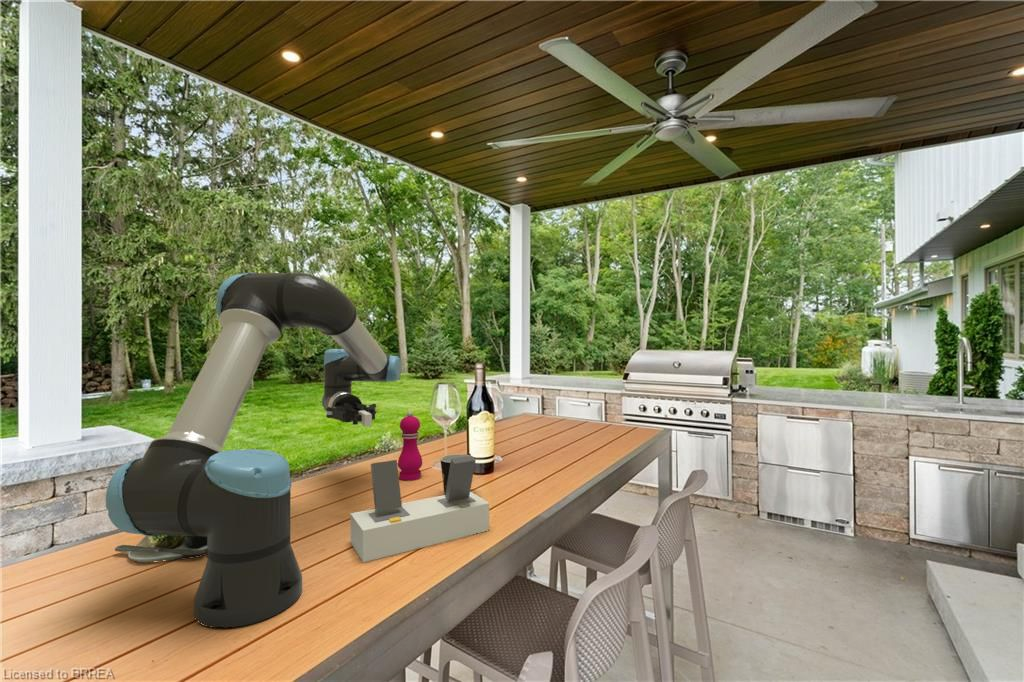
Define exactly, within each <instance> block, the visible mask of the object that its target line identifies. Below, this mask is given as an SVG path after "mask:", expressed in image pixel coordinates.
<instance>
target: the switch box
mask: <svg viewBox="0 0 1024 682" xmlns="http://www.w3.org/2000/svg"><path fill="white" fill-rule="evenodd" d="M401 503H402V507H400V508H395V509H390V510H385V511H380V512H375V508H372V509H366V510H361V511H356V512H351V513H350V544H351V546H352V547H353V548H354V550H355V552H356V553H357V555H358V557H359V558H360V560H361V562H362V563H366V562H367V563H368V562H371V561H375V560H378V559H382V558H386V557H391V556H394V555H398V554H403V553H406V552H409V551H414V550H418V549H419V550H420V549H421V548H422V549H423V548H425V547H426V548H427V547H430V546H434V545H437V544H438V545H439V544H443V543H447V542H450V541H453V540H457V539H462V538H466V537H469V535H470V536H473V534H474V535H476V533H478V534H481V532H482V533H486V532H489V531H490V502H488V501H487V500H485V499H483V498H482V497H480V496H478V495H477V494H476V493H474V492H472V491H471V490H470V495H469V498H465V499H460V500H455V501H450V502H448V501H447V499H446V498H445V495H438V496H432V497H427V498H422V499H417V500H412V501H407V502H401ZM488 530H489V531H488ZM485 531H486V532H485Z"/></svg>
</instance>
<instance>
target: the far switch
mask: <svg viewBox="0 0 1024 682" xmlns="http://www.w3.org/2000/svg"><path fill="white" fill-rule="evenodd" d="M475 467H476V459H475V458H474V456H473V455H469V456H467V457H461V458H454V459H451V463H450V469H449V475H448V481H447V487H446V494H445V498H446V499H447V501H448V502H450V501H455V500H460V499H465V498H469V495H470V491H471V488H472V483H473V477H474V472H475Z"/></svg>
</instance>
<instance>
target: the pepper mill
mask: <svg viewBox="0 0 1024 682" xmlns="http://www.w3.org/2000/svg"><path fill="white" fill-rule="evenodd" d="M413 415H414V412H413V411H411V410H409V411H407V413H406V416H404V417H403V418H402V419H401V420H400V422H399V429H400V430H401V438H402V441H403V442H402V449H401V451H400V454H399V456H398V460H397V467H398V469H399V470H400V472H399V480H401V481H405V480H407V481H408V480H411V481H416V480H415V479H417V480H419V479H421V477H422V471H421V470H420V468H422V467H423V458H422V455H421V453H420V451H419V446H418V438H419V430H420V428H421V421H420V419H419V418H418V417H417V416H413ZM418 478H419V479H418Z"/></svg>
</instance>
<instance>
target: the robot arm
mask: <svg viewBox="0 0 1024 682" xmlns="http://www.w3.org/2000/svg"><path fill="white" fill-rule="evenodd" d="M215 300H216V301H217V303H216V304H215V311H216V314H217V317H218V320H219V325H220V326H221V328H222V330H221V331H220V333H219V336H218V337H217V338H216V341H215V342H214V345H213V347H212V348H211V350H210V353H209V354H208V356H207V358H206V360H205V362H204V364H203V365H202V368H201V369H200V371H199V373H198V375H197V377H196V379H195V381H194V383H193V385H192V386H191V389H190V390H189V392H188V394H187V396H186V398H185V400H184V401H183V404H182V405H181V407H180V409H179V412H178V413H177V415H176V417H175V419H174V420H173V422H172V424H171V427H170V428H169V430H168V432H167V434H165V435H162V436H160V437H157V438H153V440H152V441H151V442H150V444H149V445H148V448H147V449H146V451H145V452H144V454H143V457H138V458H134V459H131V460H128V462H126V463H123V464H122V465H120V466H119V467H118V468H117V469H116V470H115V472H113V474H112V476H111V478H110V479H109V481H108V482H109V483H108V485H107V489H106V491H105V508H106V510H107V516H108V518H109V520H110V522H111V523H112V525H113V526H115V527H116V528H117V529H119V530H120V531H121V532H124V533H127V534H135V535H143V536H144V537H145V536H155V535H180V536H205V537H207V554H206V556H207V557H206V558H207V560H206V563H205V566H204V570H203V572H202V576H201V578H200V581H199V584H198V586H197V590H196V592H195V595H194V599H193V617H194V616H195V618H196V620H197V621H199V622H200V623H202V624H204V625H207V626H212V627H232V628H239V627H244V626H248V625H252V624H255V623H259V622H262V621H265V620H267V619H270V618H272V617H273V616H276V615H278V614H280V613H282V612H284V611H285V610H287V609H288V608H290V606H292V605H294V603H295V602H296V601H297V600H299V597H301V595H302V592H303V573H302V571H301V567H300V565H299V563H298V560H297V557H296V555H295V553H294V550H293V547H292V545H291V489H292V479H291V472H290V464H289V462H288V461H287V459H286V458H285V457H284V456H283V455H282V454H279V453H277V452H275V451H271V450H265V449H257V448H256V449H255V448H246V449H230V450H223V446H224V445H225V442H226V440H227V437H228V435H229V432H230V431H231V428H232V426H233V424H234V421H235V419H236V417H237V415H238V413H239V410H240V408H241V405H242V404H243V402H244V399H245V396H246V395H247V393H248V389H249V388H250V386H251V383H252V381H253V378H254V376H255V374H256V372H257V370H258V367H259V364H260V363H261V360H262V358H263V355H264V353H265V351H266V348H267V347H268V345H272V344H274V343H276V342H278V341H279V339H280V337H281V334H282V333H283V329H285V328H300V327H303V328H312V329H316V330H318V331H319V332H320V333H321V334H324V336H327V337H329V336H330V337H331V338H332V339H333V340H334V341H335V342H336V343H337V344H338V346H340V348H335V349H334V348H333V349H326V350H325V351H324V356H323V357H324V358H323V384H324V387H323V395H322V398H321V405H322V407H323V409H324V410H325V413H326V419H333V420H337V421H340V422H343V423H352V425H358V424H359V423H360V424H361V425H362V426H364V427H372V426H373V420H376V414H377V404H376V403H372V404H368V406H367V405H366V404H364V403H363V402H362V400H361V399H360V398H359V397H358V396H356V395H355V394H353V393H352V386H353V384H352V382H370V383H371V382H374V383H375V382H376V383H377V382H379V383H382V382H383V383H387V382H397V381H398V380H400V378H401V374H402V362H401V359H400V357H399V356H398V355H391V354H389V355H387V354H386V353H385V352H384V350H383V349H382V348H381V346H380V345H379V344H378V343H377V341H376V340H375V338H374V337H373V335H372V334H371V333H370V331H368V329H367V328H366V327H365V325H364V324H363V323H362V321H361V320H360V319H359V317H358V311H357V308H356V305H354V303H353V302H352V301H351V299H350V298H349V297H348V295H346V294H345V293H344V292H343V291H342V290H340V289H339V288H338V287H336V286H335V285H333V284H331V283H330V282H328V281H327V280H325V279H323V278H321V277H319V276H316V275H314V274H311V273H305V272H277V273H276V272H261V273H260V272H246V273H239V274H234V275H231V276H229V277H228V278H227V279H225V280H224V281H223V283H221V285H220V286H219V288H218V289H217V293H216V296H215ZM195 618H194V619H195ZM196 620H195V621H196ZM197 621H196V622H197ZM200 623H199V624H200ZM204 625H203V626H204ZM207 626H206V627H207ZM238 626H239V627H238ZM212 627H211V628H212Z"/></svg>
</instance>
